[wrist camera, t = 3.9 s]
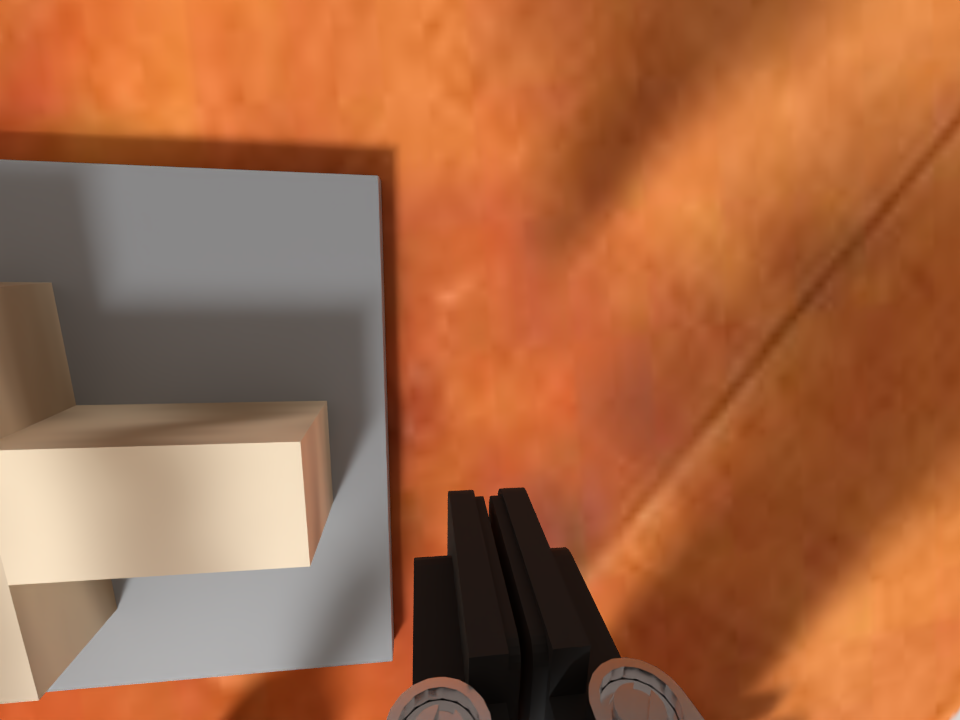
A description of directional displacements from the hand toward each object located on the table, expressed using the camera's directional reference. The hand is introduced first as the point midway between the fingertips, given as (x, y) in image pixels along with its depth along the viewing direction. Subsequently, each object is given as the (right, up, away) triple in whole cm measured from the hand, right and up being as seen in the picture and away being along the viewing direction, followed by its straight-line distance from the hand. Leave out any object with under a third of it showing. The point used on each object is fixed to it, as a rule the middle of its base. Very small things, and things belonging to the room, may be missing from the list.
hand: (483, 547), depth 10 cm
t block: (-12, +1, +6) cm, 13 cm away
